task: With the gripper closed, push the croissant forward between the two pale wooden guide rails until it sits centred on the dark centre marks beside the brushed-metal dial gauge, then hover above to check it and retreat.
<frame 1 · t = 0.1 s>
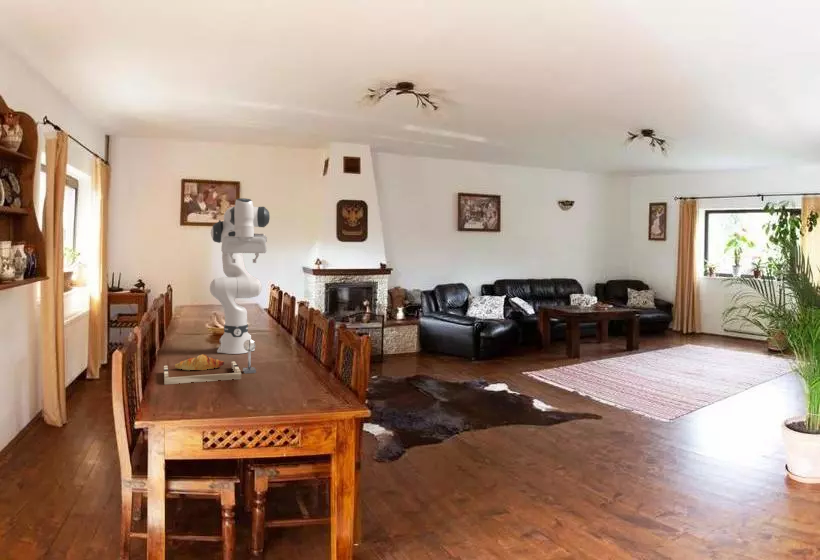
hand: (244, 262, 271), 48 cm above the table, tool pointing down, fingers open, 8 cm apart
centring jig: (201, 375, 250), on the table
croissant: (199, 369, 263), on the table
dial gauge: (249, 371, 258), on the table
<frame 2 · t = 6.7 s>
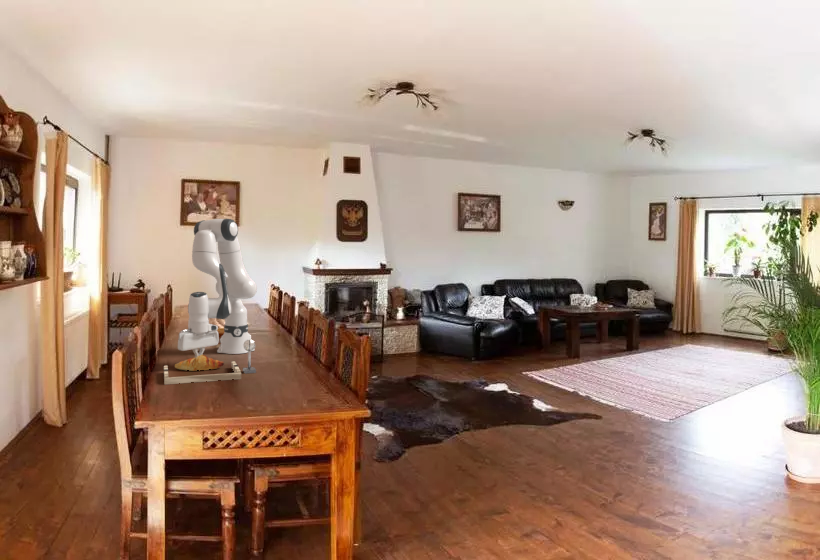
hand: (198, 357, 266), 4 cm above the table, tool pointing down, fingers closed, pressing on croissant
croissant: (199, 369, 262), on the table, touching gripper
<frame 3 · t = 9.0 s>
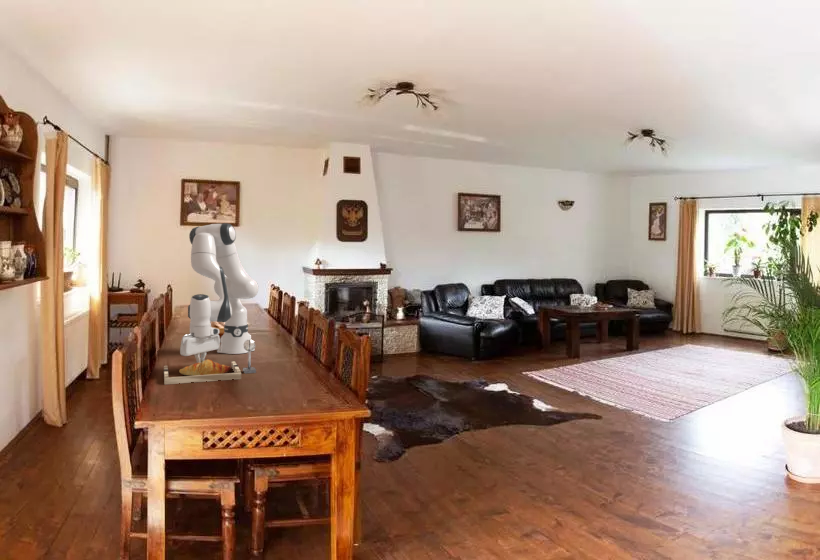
hand: (200, 362, 256), 4 cm above the table, tool pointing down, fingers closed, pressing on croissant
croissant: (205, 374, 253), on the table, touching gripper
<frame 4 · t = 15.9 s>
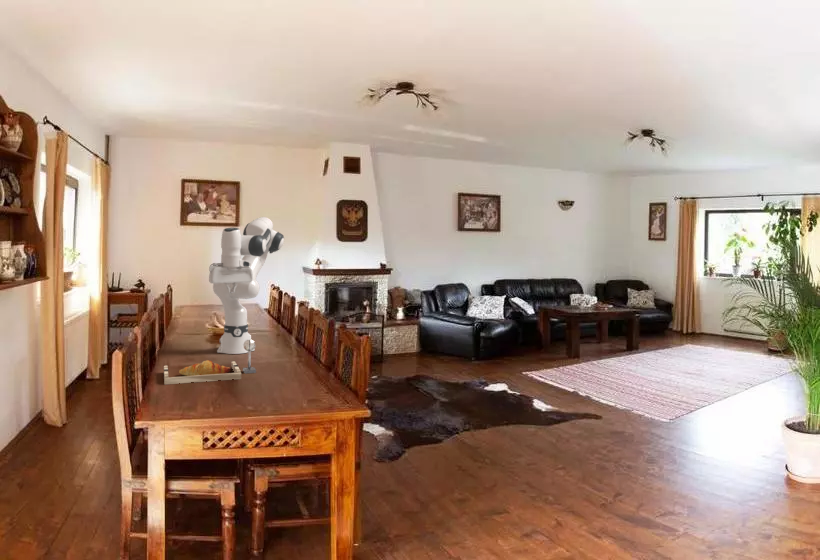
hand: (231, 292, 268), 34 cm above the table, tool pointing down, fingers closed
croissant: (204, 375, 251), on the table
at the end: croissant 1.4 cm from the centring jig (horizontally); the gripper is holding nothing; croissant tilted 2° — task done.
